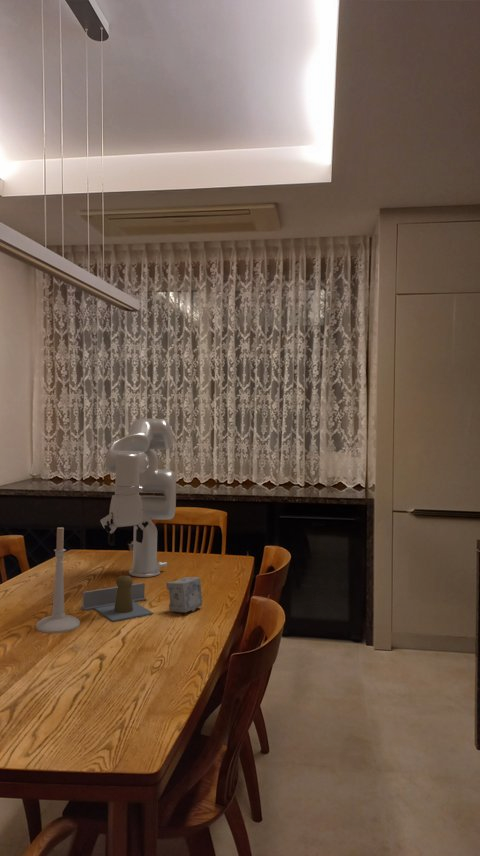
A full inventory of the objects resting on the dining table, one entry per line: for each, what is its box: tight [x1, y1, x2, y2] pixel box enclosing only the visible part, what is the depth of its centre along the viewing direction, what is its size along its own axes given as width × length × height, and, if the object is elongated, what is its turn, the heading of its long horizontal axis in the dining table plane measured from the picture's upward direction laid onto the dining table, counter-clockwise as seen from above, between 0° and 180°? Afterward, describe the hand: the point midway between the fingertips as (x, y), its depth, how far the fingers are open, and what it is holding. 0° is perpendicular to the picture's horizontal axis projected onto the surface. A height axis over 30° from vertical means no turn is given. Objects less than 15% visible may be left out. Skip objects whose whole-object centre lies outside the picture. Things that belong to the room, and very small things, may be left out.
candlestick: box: [35, 526, 81, 634], centre depth 180 cm, size 13×13×30 cm
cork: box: [114, 575, 133, 613], centre depth 194 cm, size 6×6×11 cm
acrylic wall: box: [80, 582, 147, 612], centre depth 202 cm, size 22×4×6 cm, turn 126°
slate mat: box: [94, 601, 154, 623], centre depth 194 cm, size 14×14×1 cm
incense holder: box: [166, 576, 203, 613], centre depth 198 cm, size 10×8×10 cm
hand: (125, 543), depth 194 cm, fingers open, 9 cm apart
